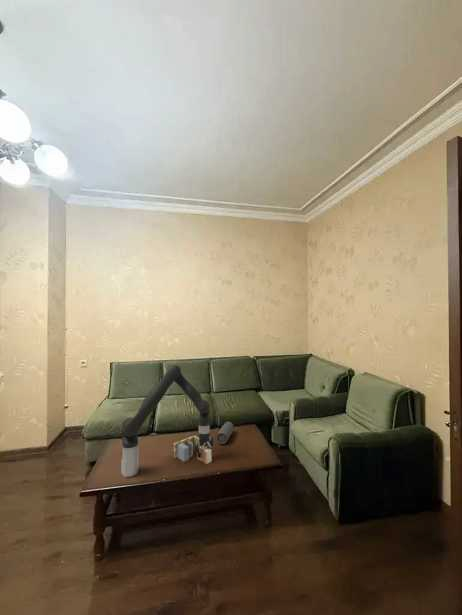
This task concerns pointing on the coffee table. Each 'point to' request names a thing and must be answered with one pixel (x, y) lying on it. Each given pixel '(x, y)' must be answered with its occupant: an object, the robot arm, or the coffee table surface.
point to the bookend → (190, 448)
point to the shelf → (190, 439)
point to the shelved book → (183, 452)
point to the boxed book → (205, 455)
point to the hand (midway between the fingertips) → (204, 455)
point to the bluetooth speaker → (225, 432)
